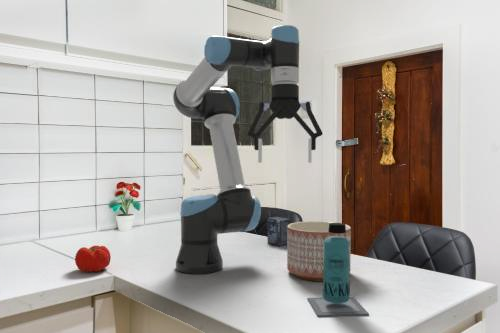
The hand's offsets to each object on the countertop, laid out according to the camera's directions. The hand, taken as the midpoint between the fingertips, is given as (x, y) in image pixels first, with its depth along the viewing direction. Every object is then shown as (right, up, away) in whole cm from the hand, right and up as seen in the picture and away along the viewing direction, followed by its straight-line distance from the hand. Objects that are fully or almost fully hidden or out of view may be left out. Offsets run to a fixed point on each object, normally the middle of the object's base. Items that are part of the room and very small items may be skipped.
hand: (284, 162), depth 122 cm
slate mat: (+11, -35, -14) cm, 40 cm away
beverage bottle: (+11, -35, -14) cm, 39 cm away
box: (+2, -33, +58) cm, 67 cm away
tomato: (-59, -34, +20) cm, 71 cm away
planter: (+12, -34, +15) cm, 39 cm away
